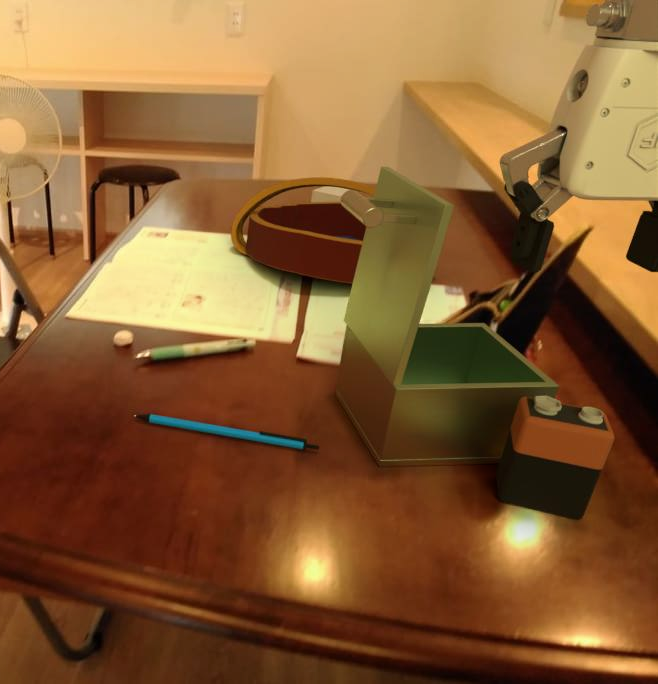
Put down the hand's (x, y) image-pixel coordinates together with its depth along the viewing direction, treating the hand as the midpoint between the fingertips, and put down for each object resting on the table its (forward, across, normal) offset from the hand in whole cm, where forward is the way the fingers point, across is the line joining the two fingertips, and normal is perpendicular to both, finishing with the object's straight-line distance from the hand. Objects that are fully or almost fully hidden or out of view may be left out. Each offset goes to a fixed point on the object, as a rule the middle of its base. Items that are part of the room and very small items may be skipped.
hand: (583, 266), depth 54 cm
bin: (+22, -3, +11) cm, 25 cm away
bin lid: (+5, -10, +11) cm, 15 cm away
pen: (+22, -25, +10) cm, 35 cm away
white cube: (+22, +10, +85) cm, 88 cm away
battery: (+22, +2, -1) cm, 22 cm away
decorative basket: (+22, +1, +58) cm, 62 cm away
